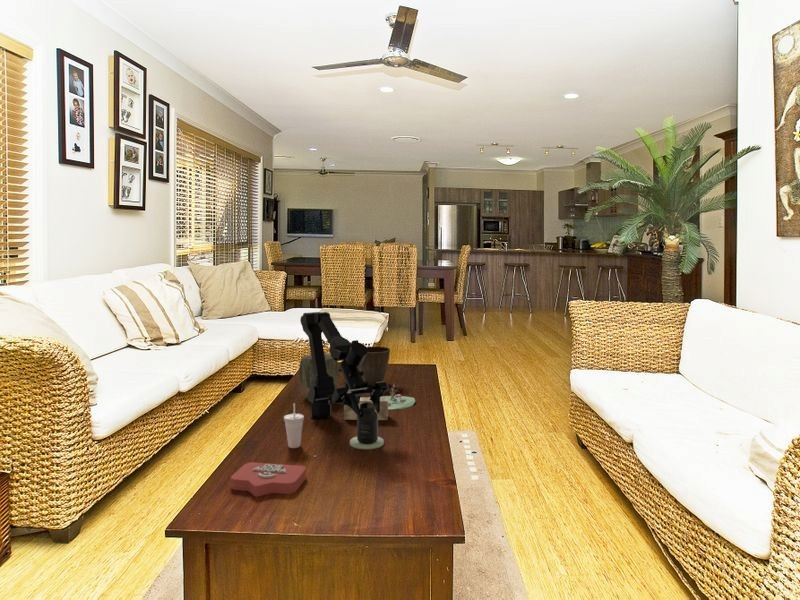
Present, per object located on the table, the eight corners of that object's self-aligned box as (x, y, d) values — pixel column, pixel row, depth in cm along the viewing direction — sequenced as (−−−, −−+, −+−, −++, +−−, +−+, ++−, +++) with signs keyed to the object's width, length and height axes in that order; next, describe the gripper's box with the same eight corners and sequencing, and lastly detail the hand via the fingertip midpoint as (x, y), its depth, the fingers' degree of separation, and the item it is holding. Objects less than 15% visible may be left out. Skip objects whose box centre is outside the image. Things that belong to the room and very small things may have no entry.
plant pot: (353, 386, 258) (353, 351, 256) (361, 379, 273) (361, 345, 271) (386, 388, 256) (386, 353, 254) (392, 380, 270) (392, 347, 269)
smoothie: (287, 450, 180) (286, 407, 178) (281, 444, 185) (280, 401, 184) (307, 447, 182) (306, 404, 181) (300, 441, 188) (300, 399, 187)
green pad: (348, 449, 181) (348, 446, 181) (351, 437, 192) (351, 435, 192) (383, 449, 181) (383, 447, 181) (384, 437, 192) (384, 435, 192)
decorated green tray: (352, 410, 224) (352, 388, 223) (355, 396, 244) (355, 375, 243) (416, 411, 224) (416, 388, 223) (413, 396, 245) (414, 375, 244)
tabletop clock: (338, 396, 241) (338, 338, 239) (324, 401, 234) (324, 341, 231) (312, 391, 249) (311, 334, 247) (297, 396, 242) (297, 337, 239)
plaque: (222, 481, 148) (247, 459, 163) (223, 495, 149) (247, 472, 164) (289, 486, 146) (307, 464, 160) (289, 501, 146) (307, 477, 161)
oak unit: (343, 419, 211) (343, 400, 210) (345, 415, 216) (345, 396, 216) (387, 420, 211) (387, 401, 210) (387, 415, 216) (388, 397, 216)
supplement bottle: (382, 439, 186) (382, 405, 183) (367, 447, 182) (367, 412, 179) (367, 432, 191) (367, 399, 188) (352, 439, 186) (352, 405, 183)
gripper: (368, 385, 202) (385, 423, 194) (319, 392, 192) (335, 432, 184) (379, 366, 195) (397, 404, 187) (330, 372, 185) (346, 413, 177)
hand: (369, 414), depth 184 cm, fingers open, 7 cm apart
